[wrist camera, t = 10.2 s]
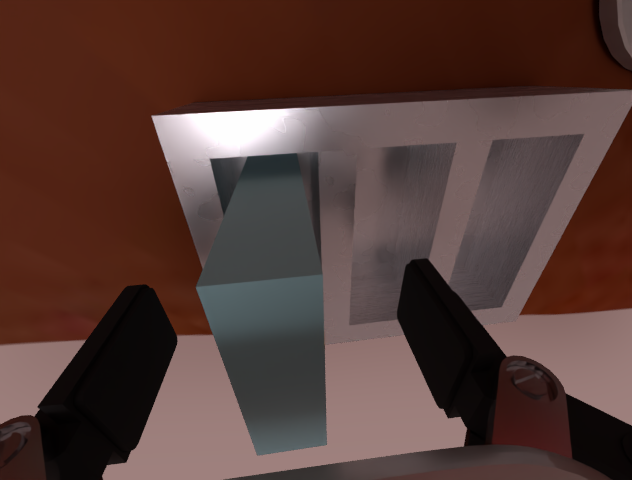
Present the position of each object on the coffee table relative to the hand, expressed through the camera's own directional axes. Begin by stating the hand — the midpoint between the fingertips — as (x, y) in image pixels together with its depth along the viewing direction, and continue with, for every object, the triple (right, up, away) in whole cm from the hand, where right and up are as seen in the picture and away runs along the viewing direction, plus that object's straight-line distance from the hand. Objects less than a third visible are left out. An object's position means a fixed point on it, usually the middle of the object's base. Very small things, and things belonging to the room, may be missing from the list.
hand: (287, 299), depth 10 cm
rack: (+4, +4, +7) cm, 9 cm away
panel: (-1, +3, +6) cm, 7 cm away
